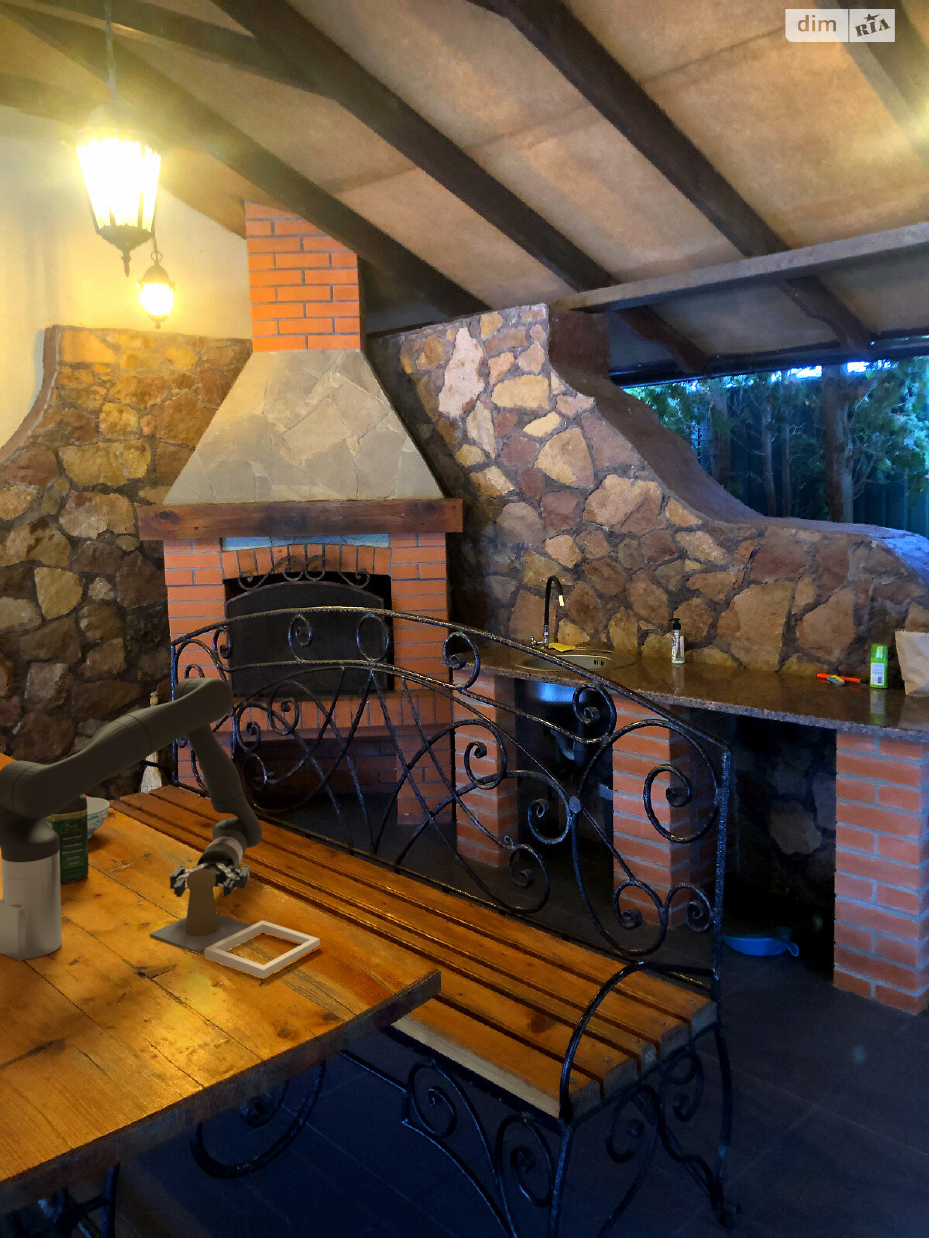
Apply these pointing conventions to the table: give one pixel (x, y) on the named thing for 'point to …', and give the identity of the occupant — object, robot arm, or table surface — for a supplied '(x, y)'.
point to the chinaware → (95, 813)
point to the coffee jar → (72, 839)
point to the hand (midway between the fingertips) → (201, 891)
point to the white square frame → (219, 949)
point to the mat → (198, 943)
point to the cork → (201, 903)
